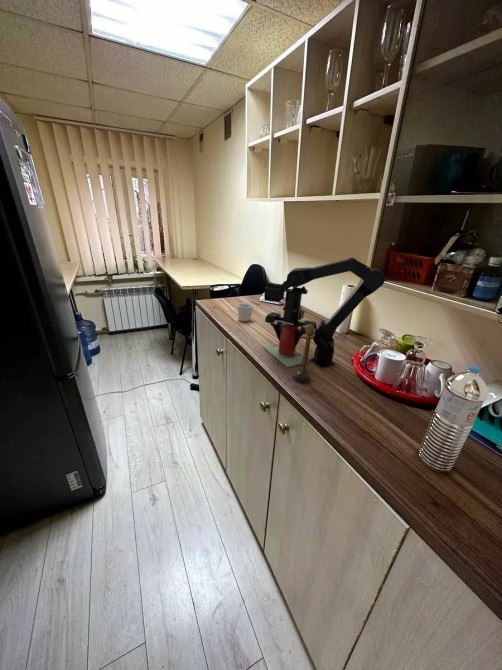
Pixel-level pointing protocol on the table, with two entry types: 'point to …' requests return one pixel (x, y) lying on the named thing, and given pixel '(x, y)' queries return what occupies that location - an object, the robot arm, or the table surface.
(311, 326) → the wooden tabletop sculpture
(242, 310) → the cup
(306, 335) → the bowl
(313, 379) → the table surface
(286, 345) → the can
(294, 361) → the mat
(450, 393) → the water bottle
